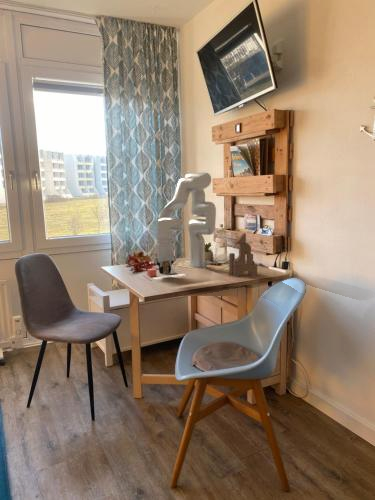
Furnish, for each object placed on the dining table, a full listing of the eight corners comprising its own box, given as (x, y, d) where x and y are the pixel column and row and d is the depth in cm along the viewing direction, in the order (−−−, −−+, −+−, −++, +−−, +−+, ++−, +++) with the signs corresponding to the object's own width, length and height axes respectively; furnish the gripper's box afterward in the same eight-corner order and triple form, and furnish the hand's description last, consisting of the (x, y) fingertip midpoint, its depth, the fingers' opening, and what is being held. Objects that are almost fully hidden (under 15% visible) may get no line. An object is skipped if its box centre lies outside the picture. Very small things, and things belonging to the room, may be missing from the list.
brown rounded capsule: (167, 272, 217) (166, 259, 216) (170, 274, 213) (169, 260, 212) (160, 273, 215) (159, 259, 214) (163, 274, 211) (162, 260, 210)
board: (178, 273, 230) (177, 264, 229) (188, 277, 218) (188, 268, 217) (142, 277, 220) (142, 268, 219) (151, 283, 207) (151, 273, 206)
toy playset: (118, 266, 255) (117, 245, 253) (155, 262, 265) (155, 243, 262) (131, 277, 223) (130, 254, 221) (173, 273, 233) (172, 250, 230)
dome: (172, 271, 226) (172, 263, 226) (176, 273, 222) (175, 265, 221) (164, 272, 224) (164, 264, 223) (168, 274, 219) (167, 266, 219)
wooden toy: (253, 272, 228) (253, 231, 224) (257, 275, 221) (257, 232, 217) (228, 274, 225) (228, 232, 221) (231, 277, 218) (232, 234, 214)
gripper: (175, 239, 218) (175, 270, 221) (147, 241, 211) (148, 273, 214) (180, 240, 212) (181, 272, 215) (153, 243, 204) (153, 276, 207)
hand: (165, 272), depth 214 cm, fingers closed on brown rounded capsule, 4 cm apart
